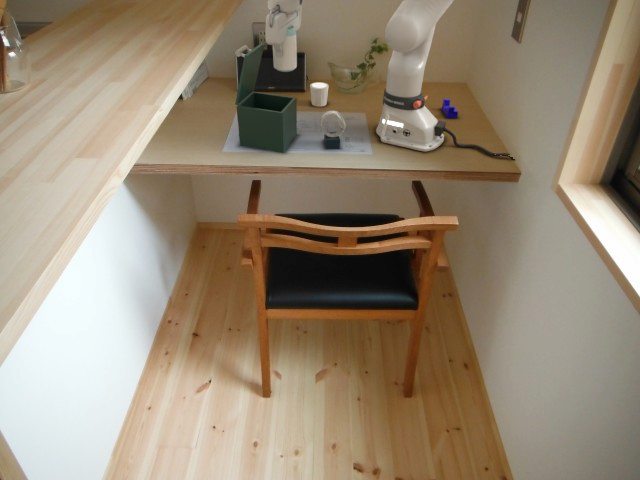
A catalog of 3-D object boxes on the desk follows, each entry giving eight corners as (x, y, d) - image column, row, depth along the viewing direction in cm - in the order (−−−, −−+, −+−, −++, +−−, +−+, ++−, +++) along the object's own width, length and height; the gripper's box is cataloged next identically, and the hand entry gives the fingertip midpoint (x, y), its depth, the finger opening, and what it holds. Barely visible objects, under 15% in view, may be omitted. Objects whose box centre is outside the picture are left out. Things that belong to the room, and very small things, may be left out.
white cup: (331, 102, 173) (332, 84, 169) (321, 108, 168) (322, 89, 164) (316, 98, 176) (316, 80, 171) (306, 104, 171) (306, 85, 167)
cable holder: (456, 118, 165) (459, 107, 162) (447, 118, 164) (449, 107, 162) (450, 109, 171) (453, 98, 168) (441, 109, 171) (443, 98, 168)
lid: (264, 43, 136) (249, 36, 136) (247, 55, 126) (231, 48, 126) (254, 90, 146) (239, 84, 146) (237, 105, 136) (222, 98, 136)
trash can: (296, 135, 151) (296, 97, 143) (283, 152, 142) (282, 113, 134) (255, 128, 154) (253, 91, 146) (240, 145, 145) (236, 106, 137)
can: (275, 73, 137) (273, 30, 129) (272, 65, 142) (270, 23, 135) (298, 72, 138) (298, 29, 131) (294, 64, 143) (294, 23, 136)
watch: (345, 148, 145) (347, 115, 138) (320, 149, 144) (321, 115, 137) (343, 140, 149) (345, 107, 142) (318, 141, 148) (319, 108, 141)
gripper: (280, 11, 120) (282, 64, 129) (305, -5, 136) (305, 44, 144) (258, 8, 122) (261, 62, 130) (285, -7, 137) (286, 42, 146)
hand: (284, 52), depth 137 cm, fingers closed on can, 7 cm apart
